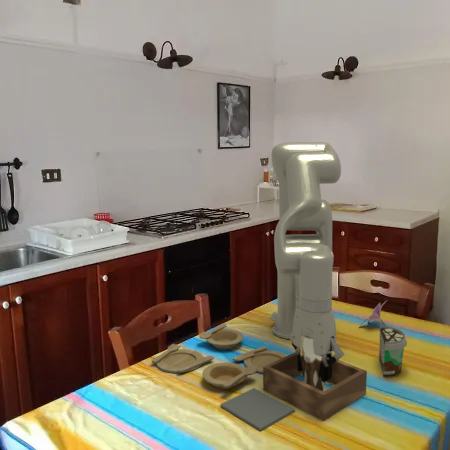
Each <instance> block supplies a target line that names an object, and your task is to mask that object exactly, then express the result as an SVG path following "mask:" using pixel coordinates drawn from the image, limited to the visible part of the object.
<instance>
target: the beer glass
mask: <svg viewBox="0 0 450 450" xmlns="http://www.w3.org/2000/svg"><path fill="white" fill-rule="evenodd" d="M313 340H314V339H312V338H308V337H305V336H304V335H301V345H300V360H301V366H302V371H303V373H302V382H304V383H306V384H308V385H310V386H312V387H315V388H317V389H319V390H321V391H325V390H327V385H326V381H325V382H322V381H321V367H322V365H324V364H323V361H322V356H319V355H316V354H314V347H313ZM326 356H327V359H328V354H327V355H326Z"/></svg>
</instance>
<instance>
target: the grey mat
mask: <svg viewBox="0 0 450 450" xmlns="http://www.w3.org/2000/svg"><path fill="white" fill-rule="evenodd" d="M220 408H221V409H223V410H225V411H227V412H228V413H230V414H231V415H233V416H235V417H237V419H239V420H241V421H243V422H244V423H246V424H248V425H249V426H251V427H253V428H255V429H256V430H258V431H259V432H262V431H264V430H265V429H267V428H269V427H270V426H272V425H274V424H277V422H279V421H281V420H283V419H285V418H286V417H288V416H290V415H292V414H294V413H295V412H296V409H295V408H294V407H291V406H290V405H288V404H285V403H284V402H282V401H281V400H278V399H276V398H274V397H272V396H271V395H269V394H266V392H263V391H261V390H259V389H257V388H256V387H254V388H251V389H249V390H246V391H245V392H243V393H240V394H238V395H237V396H235V397H233V398H230V399H228V400H226V401H224V402H221V403H220Z"/></svg>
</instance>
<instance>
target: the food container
mask: <svg viewBox="0 0 450 450" xmlns="http://www.w3.org/2000/svg"><path fill="white" fill-rule="evenodd" d="M407 345H408V342H407V336H406V334H405V333H404V332H403V331H402V330H401V329H399V328H396V327H394V326H393V327H392V326H388V325H385V326H384V324H383V325H379V350H378V352H379V353H378V361H379V365H380V371H381V374H382V377H383V378H391V377H393V378H394V377H397V376H399V375H400V374H401V371H402V365H403V357H404V349H405V348H406V347H407Z"/></svg>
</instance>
